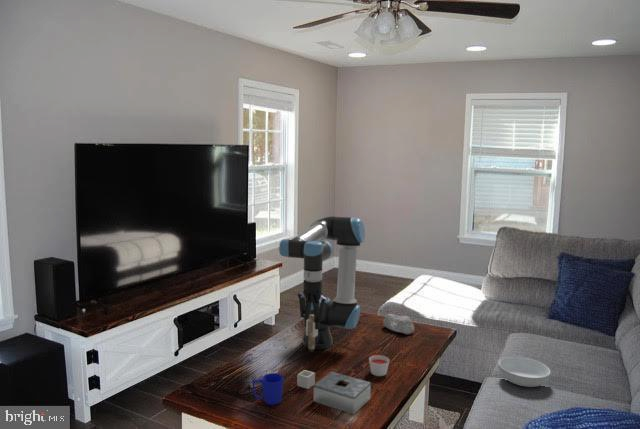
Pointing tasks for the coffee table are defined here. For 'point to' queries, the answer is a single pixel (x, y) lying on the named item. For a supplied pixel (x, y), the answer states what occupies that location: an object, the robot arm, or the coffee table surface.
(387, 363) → the candle
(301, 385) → the hollow square box
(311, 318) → the peg
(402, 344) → the coffee table surface
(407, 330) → the decorative stone
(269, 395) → the mug
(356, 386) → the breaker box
